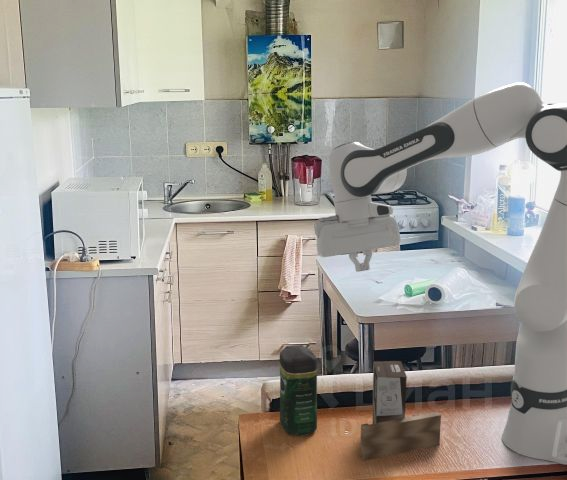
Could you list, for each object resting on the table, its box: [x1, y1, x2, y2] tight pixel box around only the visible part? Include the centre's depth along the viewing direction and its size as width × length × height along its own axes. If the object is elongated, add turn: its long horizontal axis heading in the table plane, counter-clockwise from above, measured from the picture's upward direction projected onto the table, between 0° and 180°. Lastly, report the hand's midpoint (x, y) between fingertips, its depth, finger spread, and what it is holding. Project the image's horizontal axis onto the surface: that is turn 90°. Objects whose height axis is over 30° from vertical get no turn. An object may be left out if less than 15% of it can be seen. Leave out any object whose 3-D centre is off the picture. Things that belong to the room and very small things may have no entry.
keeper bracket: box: [360, 411, 442, 461], centre depth 146 cm, size 18×6×7 cm, turn 109°
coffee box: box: [371, 360, 408, 424], centre depth 149 cm, size 9×6×16 cm
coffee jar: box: [279, 344, 318, 437], centre depth 154 cm, size 10×8×19 cm
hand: (362, 270), depth 162 cm, fingers closed
